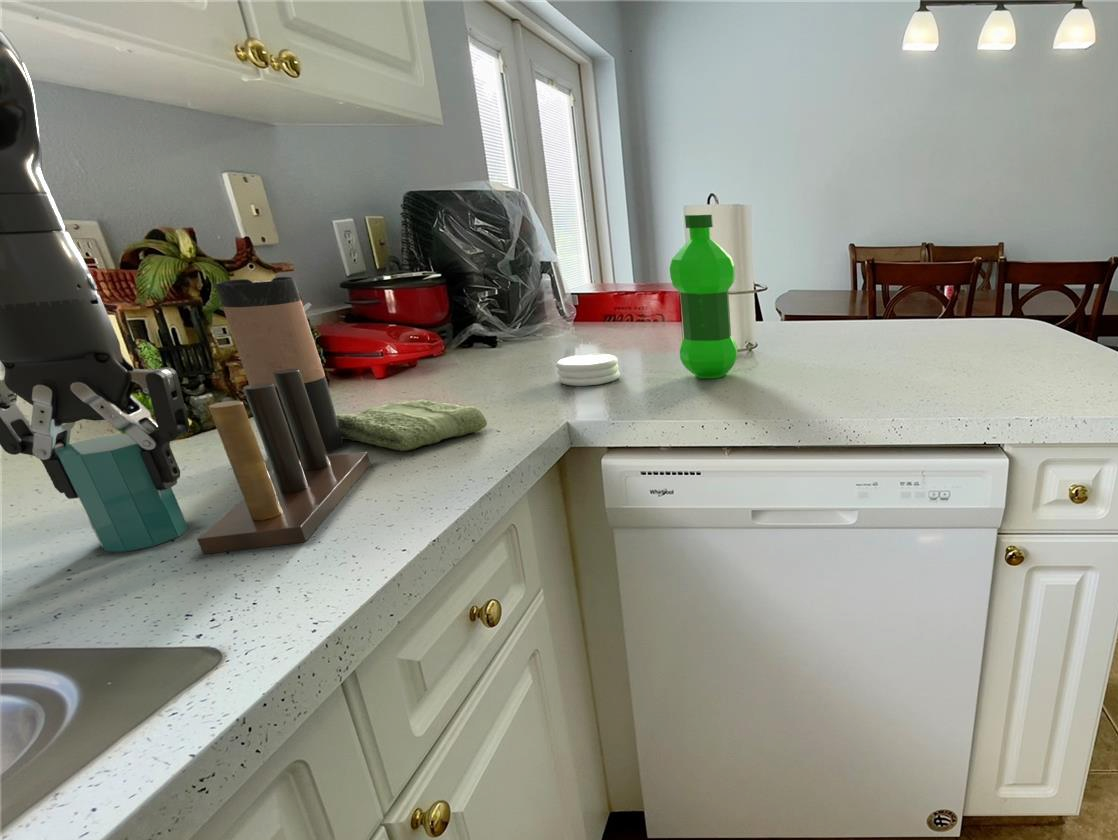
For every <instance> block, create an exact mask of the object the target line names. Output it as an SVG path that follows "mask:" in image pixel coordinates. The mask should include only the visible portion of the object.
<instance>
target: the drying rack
mask: <svg viewBox="0 0 1118 840" xmlns="http://www.w3.org/2000/svg"><path fill="white" fill-rule="evenodd" d="M272 375H273V378H274V381H275V383H276V386H277V389H278V392H279V395H280V398H281V401H282V404H283V407H284V410H285V413H286V416H287V419H288V422H289V425H290V427H291V430H292V433H293V436H294V439H295V442H296V445H297V448H298V451H299V454H300V457H301V458H299V457H298V454H297V451H296V448H295V445H294V442H293V440H292V437H291V434H290V431H289V428H288V425H287V422H286V419H285V416H284V413H283V410H282V407H281V404H280V402H279V399H278V396H277V393H276V390H275V387H274V384H272V383H261V384H254V385H249V384H248V385H246V386H244V387H242V389H243V392H244V396H245V397H246V400H247V403H248V406H249V409H250V411H251V413H252V414H251V415H252V417H253V420H254V424H255V425H256V426H255V427H256V428H257V431H258V434H259V437H260V440H261V442H262V445H263V447H264V450H265V453H266V457H267V458H268V461H269V464H270V468H271V470H272V474H271V475H270V474H269V473H270V472H269V471H268V467H267V465H266V462H265V460H264V457H263V453H262V451H261V449H260V446H259V443H258V440H257V437H256V435H255V432H254V430H253V427H252V423H251V420H250V418H249V416H248V412H247V410H246V407H245V404H244V402H243V401H241V400H225V401H221V402H216V403H213V404H210V405H208V410H209V412H210V415H211V418H212V420H213V423H214V425H215V428H216V430H217V433H218V436H219V439H220V441H221V443H222V447H223V448H224V452H225V454H226V456H227V459H228V461H229V464H230V466H231V470H232V472H233V474H234V477H235V480H236V482H237V484H238V487H239V490H240V492H241V495H242V497H243V499H242V500H241V501H240V502H238V503H237V504H236V505H235V506H234V507H233V508H232V509H230V510H229V511H227V513H226V514H224V515H223V516H222V517H221V518H220V519H218V520H216V522H215V523H213V524H212V525H211V526H210V527H209V528H208V529H207V530H206V531H204V532H203V533H202V534H201V535H200V536H199V537H197V538H196V540H197V542H198V545H199V547H200V550H201V552H202V555H208V554H217V553H224V552H225V553H226V552H232V551H233V552H234V551H241V550H251V549H257V548H266V547H274V546H281V545H291V544H299V543H306V542H307V541H308V540H309V539H310V538H311V536H312V535H313V534H314V533H315V532H316V530H317V529H318V528H319V527H320V525H321V524H322V523H323V522H324V521H325V519H327V517H328V516H329V515H330V514H331V512H332V511H333V510H334V509H335V508H336V506H337V505H338V504H339V503H340V501H341V500H342V499H343V498H344V497H345V496H346V495H347V493H348V492H349V491H350V490H351V489H352V487H353V486H354V485H355V484H356V482H357V481H358V480H359V479H360V478H361V477H362V476H363V474H364V473H365V472H366V471H367V469H368V468H369V467H370V466H371V464H372V462H371V460H370V456H369V452H368V451H364V452H362V451H361V452H351V453H343V454H333V455H332V454H331V455H328V454H327V453H328V452H327V453H326V450H325V447H324V444H323V441H322V438H321V435H320V432H319V428H318V425H317V422H316V419H315V416H314V413H313V410H312V407H311V404H310V401H309V398H308V394H307V391H306V388H305V385H304V382H303V379H302V376H301V373H300V370H299V369H283V370H278V371H274V372H272Z"/></svg>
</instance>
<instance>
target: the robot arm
mask: <svg viewBox="0 0 1118 840" xmlns="http://www.w3.org/2000/svg"><path fill="white" fill-rule="evenodd" d="M29 73H30V72H29V71H28V69H27V67H26V64H25V62H24V60H23V58H22V57H21V55H20V53H19V52H18V50H17V48H16V47H15V46H14V44H13V43H12V41H11V40H10V39H9V37H8V36H7V35H6V34H5V32H3V31H2V30H1V29H0V362H1V364H2V365H3V366H4V376H3V378H2V379H0V446H1V448H2V449H3V450H4V452H6V453H7V454H9V455H13V456H14V455H15V456H16V455H19V454H23V455H28V456H33V457H35V458H37V459H38V460H39V461H41V463H42V464H43V467H44V469H45V471H46V472H47V474H48V477H49V478H50V481H51V482H52V485H53V487H54V488H55V490H56V491H58V492H59V494H64V496H65V497H66V498H67V499H68V500H69V499H70V500H73V499H78V498H77V496H76V494H75V492H74V490H73V488H72V486H71V484H70V482H69V480H68V478H67V476H66V474H65V472H64V470H63V468H62V466H61V464H60V462H59V460H58V458H57V456H56V454H55V451H56V450H58V449H60V448H62V447H64V446H67V445H69V444H70V440H71V434H72V433H71V432H72V429H73V428H74V427H75V425H76V422H79V421H82V420H86V421H94V422H96V421H97V422H98V421H106V422H107V423H108V424H110V426H112V427H113V428H114V429H115V430H117V431H120V432H123V433H124V434H127V435H128V436H129V437H130V438H131V439H133V440H134V441H135V442H136V443H137V444H138V445H139V446H140V447H141V448H143V449H144V450H143V451H141V452H140V454H141V456H142V458H143V461H144V463H145V465H146V467H147V470H148V472H149V474H150V476H151V479H152V481H153V483H154V485H155V488H156V489H157V490H164V489H169V488H173V487H174V486H176V485H177V484H178V479H180V478H181V470H180V467H179V465H178V462H177V460H176V458H175V456H174V455H175V454H174V453H173V451H172V448H171V445H170V443H171V442H173V441H175V440H177V439H178V438H180V437H181V436H183V435H186V434H187V433H189V432H190V430H191V426H190V421H189V417H188V413H187V409H186V405H185V400H184V397H183V396H184V395H183V392H182V388H181V384H180V380H179V375H178V373H177V371H176V370H175V369H174V368H173V367H170V366H165V367H162V368H158V369H147V368H146V369H145V368H144V369H142V368H135V367H134V366H133V365H132V364H131V363H130V362H129V361H127V359H126V358H125V357H124V355H123V353H122V349H121V343H120V340H119V338H118V335H117V333H116V331H115V328H114V326H113V323H112V321H111V319H110V316H109V314H108V311H107V309H106V307H105V305H104V303H103V300H102V298H101V296H100V293H99V291H98V285H97V283H96V281H95V279H94V277H93V276H92V274H91V272H90V269H89V266H88V265H87V263H86V260H85V259H84V257H83V255H82V254H81V252H80V250H79V249H78V247H77V246H76V244H75V242H74V240H73V239H72V237H71V235H70V233H69V232H68V228H67V226H66V223H65V221H64V219H63V216H62V214H61V212H60V209H59V207H58V205H57V202H56V199H55V197H54V196H53V194H52V191H51V190H50V187H49V184H48V183H47V181H46V179H45V178H46V177H45V175H44V169H43V157H42V156H43V155H42V143H41V136H40V129H39V121H38V114H37V106H36V99H35V92H34V88H33V82H32V79H31V77H30V74H29ZM136 384H137V385H138V386H140V388H141V391H142V393H144V394H146V395H147V396H149V398H150V402H151V405H152V411H153V414H154V417H155V419H154V418H153V417H152V413H151V411H150V410H149V409H148V408H147V407H146V406H144V404H142V403H141V401H140V400H138V399H137V398H136V397H135V396H134V394H132V393H133V391H134V389H135V386H136ZM18 397H19V398H21V399H22V400H24V401H25V402H27V403H28V404H30V405H31V406H32V412H31V413H32V414H31V422H30V421H29V420H28V419H27V417H26V416H25V414H24V413H23V412H22V410H21V408H20V407H19V405H18V404H17V401H18ZM124 411H125V412H124Z"/></svg>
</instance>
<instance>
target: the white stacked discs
mask: <svg viewBox="0 0 1118 840" xmlns="http://www.w3.org/2000/svg"><path fill="white" fill-rule="evenodd" d="M618 363H619V359H618V357H616V355H612V354H606V353H587V354H577V355H576V354H575V355H570V356H567V357H563V358H561V359H559V360H558V361H557V362H556V365H555V367H556V368H557V374H558V375H559V376H558V381H559V382H560V383H561V384H563V385H566V386H571V387H572V386H573V387H589V386H599V385H604V384H608V383H612V382H614V381H617V380H618V379H619V378H620V376H621V374H620V371H619V370H620V366H619V364H618Z"/></svg>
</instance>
